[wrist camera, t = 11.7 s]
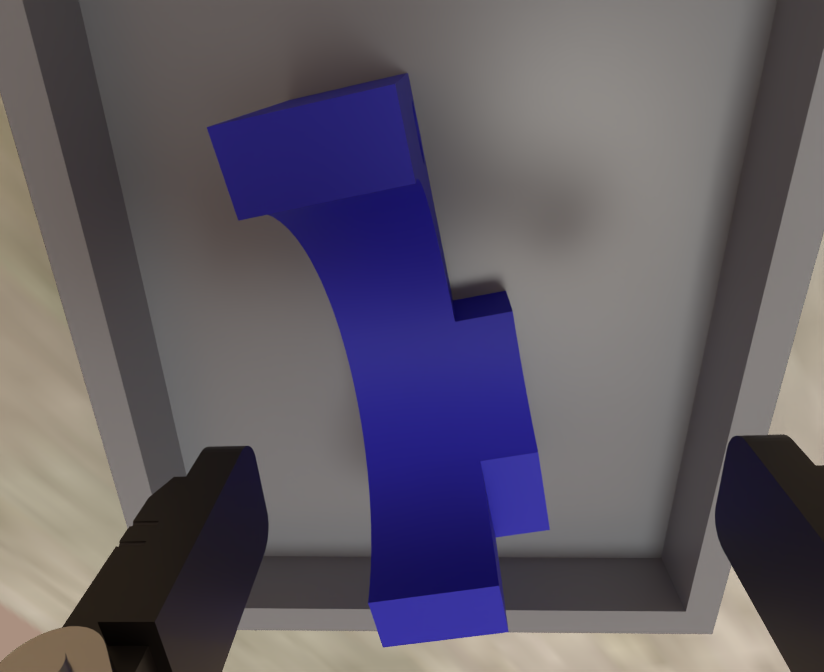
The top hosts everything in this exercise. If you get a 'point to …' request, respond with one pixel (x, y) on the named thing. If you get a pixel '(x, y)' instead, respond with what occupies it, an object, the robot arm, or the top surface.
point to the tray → (464, 256)
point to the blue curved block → (402, 351)
